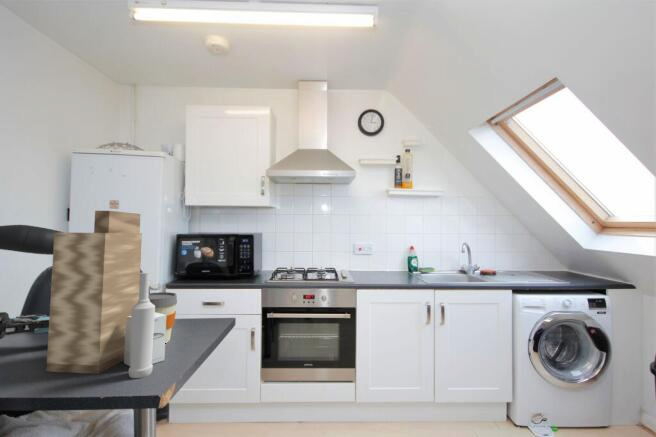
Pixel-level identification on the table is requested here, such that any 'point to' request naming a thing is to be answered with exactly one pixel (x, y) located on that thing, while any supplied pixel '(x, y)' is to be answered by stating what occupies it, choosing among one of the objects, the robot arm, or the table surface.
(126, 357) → the supplement box
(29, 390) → the table surface
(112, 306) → the brown tall stepped block
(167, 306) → the reusable coffee cup
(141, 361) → the bottle
